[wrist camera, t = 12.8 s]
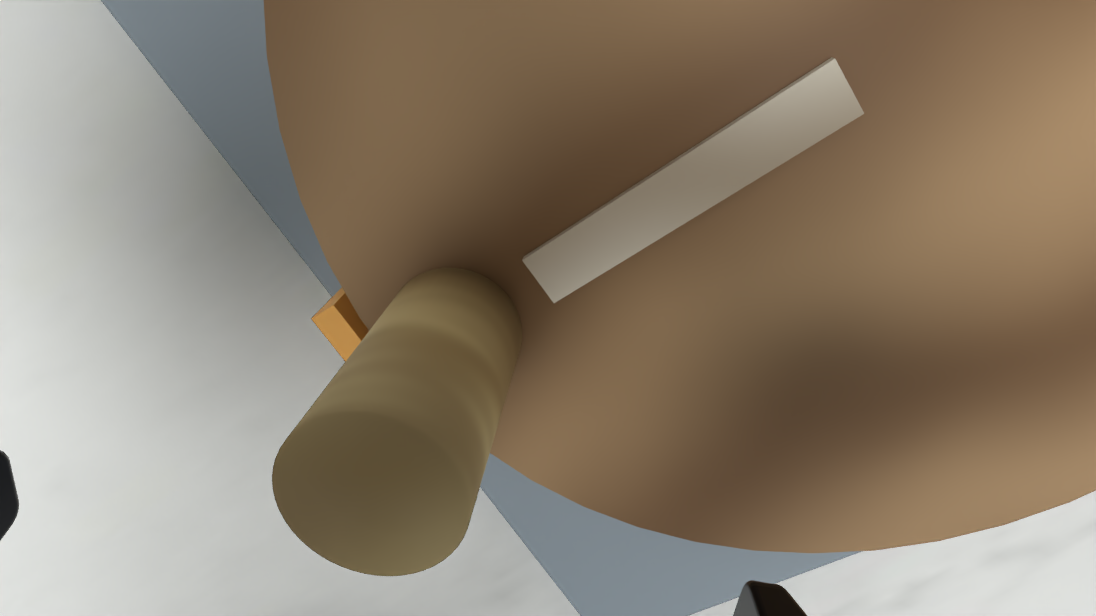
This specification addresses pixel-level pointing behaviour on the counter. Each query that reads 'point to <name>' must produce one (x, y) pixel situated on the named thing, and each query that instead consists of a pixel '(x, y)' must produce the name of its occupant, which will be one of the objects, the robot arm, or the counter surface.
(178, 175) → the counter surface
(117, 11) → the base plate
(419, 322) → the cam dial
